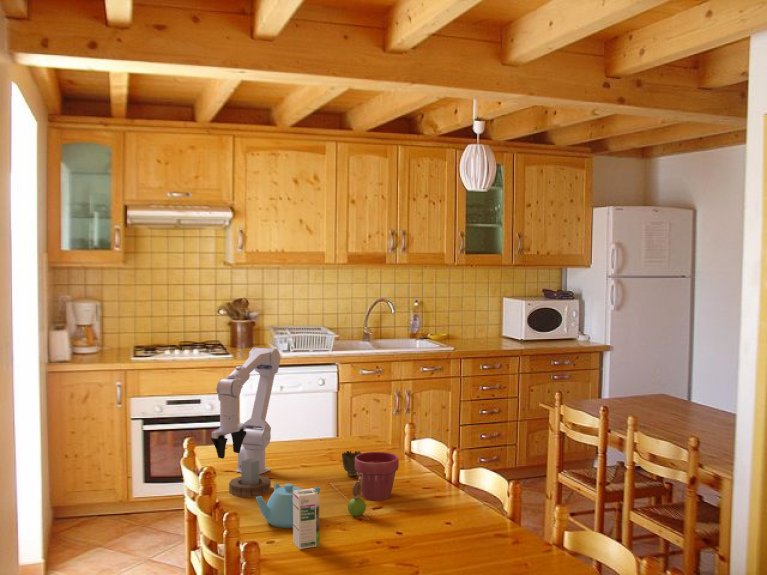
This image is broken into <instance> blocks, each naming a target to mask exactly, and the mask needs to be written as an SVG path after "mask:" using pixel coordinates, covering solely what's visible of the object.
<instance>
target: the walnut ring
mask: <svg viewBox="0 0 767 575" xmlns="http://www.w3.org/2000/svg"><path fill="white" fill-rule="evenodd" d="M271 484H272V482H271V479H270V478H269V477H267V476H262V475H259V484H257V485H241V476H238V477H235V478H232V479H231V480H230V481H229V483H228V486H229V488H228V492H229V494H231V495H232V496H235V497H240V498H256V497H259V496H261V497H263V496H264V495H267V494H269V493H270V491H271V490H272V489H271V488H272V487H271Z"/></svg>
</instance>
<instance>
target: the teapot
mask: <svg viewBox="0 0 767 575" xmlns="http://www.w3.org/2000/svg"><path fill="white" fill-rule="evenodd" d="M313 489H315V490H316V491H317V492H318V493H319V494H320V492H321V487H320V486H317V487H316V486H315V487H314V488H313ZM295 490H303V489H302V487H299V486H295V485H294V484H293V483H285V484H283V486H280V483H273V492H272V493H271V495H270V497H269V498H268V500H267V503H266V501H265V500H264V498H263V496H256V497H255V500H256V502H257V504H258V508H259V509H260V512H261V515H262V517H264V518H265V520H266V521H267V522H268V524H270V525H271V526H272V527H276V528H280V529H281V528H282V529H290V528H291V529H293V491H295Z"/></svg>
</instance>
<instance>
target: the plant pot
mask: <svg viewBox="0 0 767 575" xmlns="http://www.w3.org/2000/svg"><path fill="white" fill-rule="evenodd" d="M399 467H400V466H399V455H397V454H394V453H391V452H385V451H368V452H367V451H366V452H361V454H358V455H357V456H356V457H355V470H356V471H358V472H357V473H358V474H357V476H358V478H359V477H362V478H363V481H362V491H361V495H362V498H364V499H366V500H369V501H383V500H388V499H390V498H391V495H392V491H393V487H394V482H395V477H396V472H397V471H398V470H399ZM359 473H363V475H362V474H361V475H360V474H359Z"/></svg>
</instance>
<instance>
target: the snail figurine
mask: <svg viewBox="0 0 767 575" xmlns="http://www.w3.org/2000/svg"><path fill="white" fill-rule="evenodd" d="M359 474H360V475H361V474H362V475H363V473H359ZM362 481H363V478H362V477H358V481H357V480H356V481H355V482H354V483H353V484H352V488H351V491H352V493H351V494H352V496H353V497H352V498H351V499H350V500H349V501H348V504H347V511H348V512H349V514H350V515H351V516H353V517H360V516H362V515H363V514H364V513H365V512H366V509H367V508H366V507H367V506H366V505H367V504H366V502H365V500H364V499H363V498H361V495H362Z"/></svg>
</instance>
